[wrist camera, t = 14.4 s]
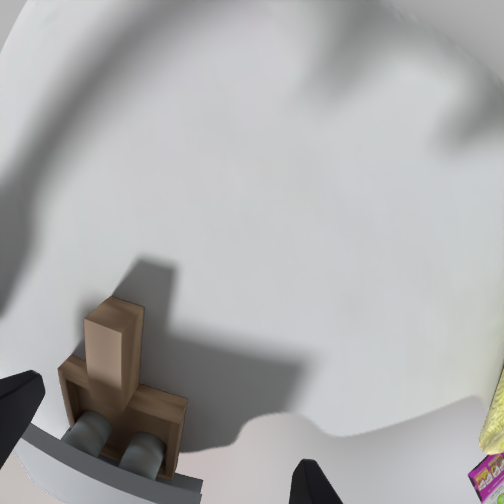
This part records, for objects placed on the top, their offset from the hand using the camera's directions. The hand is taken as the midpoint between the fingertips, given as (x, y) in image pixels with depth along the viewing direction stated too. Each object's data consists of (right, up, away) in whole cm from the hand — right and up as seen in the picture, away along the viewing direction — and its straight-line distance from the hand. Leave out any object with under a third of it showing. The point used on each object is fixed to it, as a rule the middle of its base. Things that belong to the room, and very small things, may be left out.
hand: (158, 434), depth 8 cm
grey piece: (-10, -14, +18) cm, 25 cm away
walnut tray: (-9, -8, +16) cm, 20 cm away
